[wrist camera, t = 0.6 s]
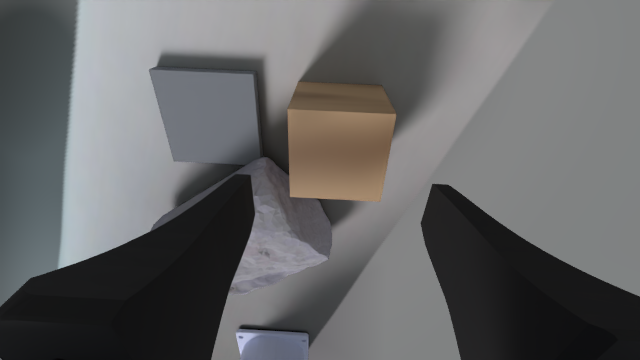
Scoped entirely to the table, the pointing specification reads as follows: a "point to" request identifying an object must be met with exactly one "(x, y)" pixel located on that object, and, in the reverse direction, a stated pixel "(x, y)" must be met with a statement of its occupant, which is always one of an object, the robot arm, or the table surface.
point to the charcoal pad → (209, 114)
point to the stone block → (274, 229)
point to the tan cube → (339, 140)
